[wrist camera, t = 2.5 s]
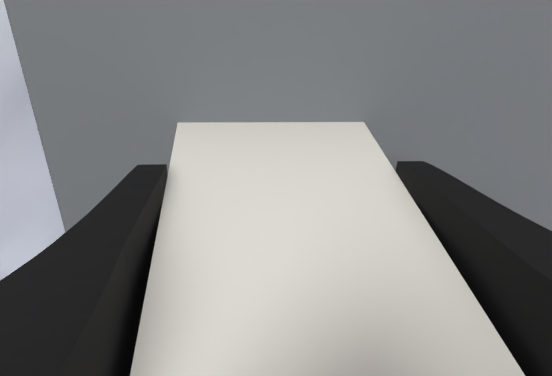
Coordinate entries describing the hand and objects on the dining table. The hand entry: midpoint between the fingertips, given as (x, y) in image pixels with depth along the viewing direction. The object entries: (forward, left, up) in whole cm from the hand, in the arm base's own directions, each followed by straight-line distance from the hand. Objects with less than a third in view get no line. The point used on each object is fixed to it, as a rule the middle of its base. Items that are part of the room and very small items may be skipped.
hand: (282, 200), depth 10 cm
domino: (0, 0, -3) cm, 3 cm away
